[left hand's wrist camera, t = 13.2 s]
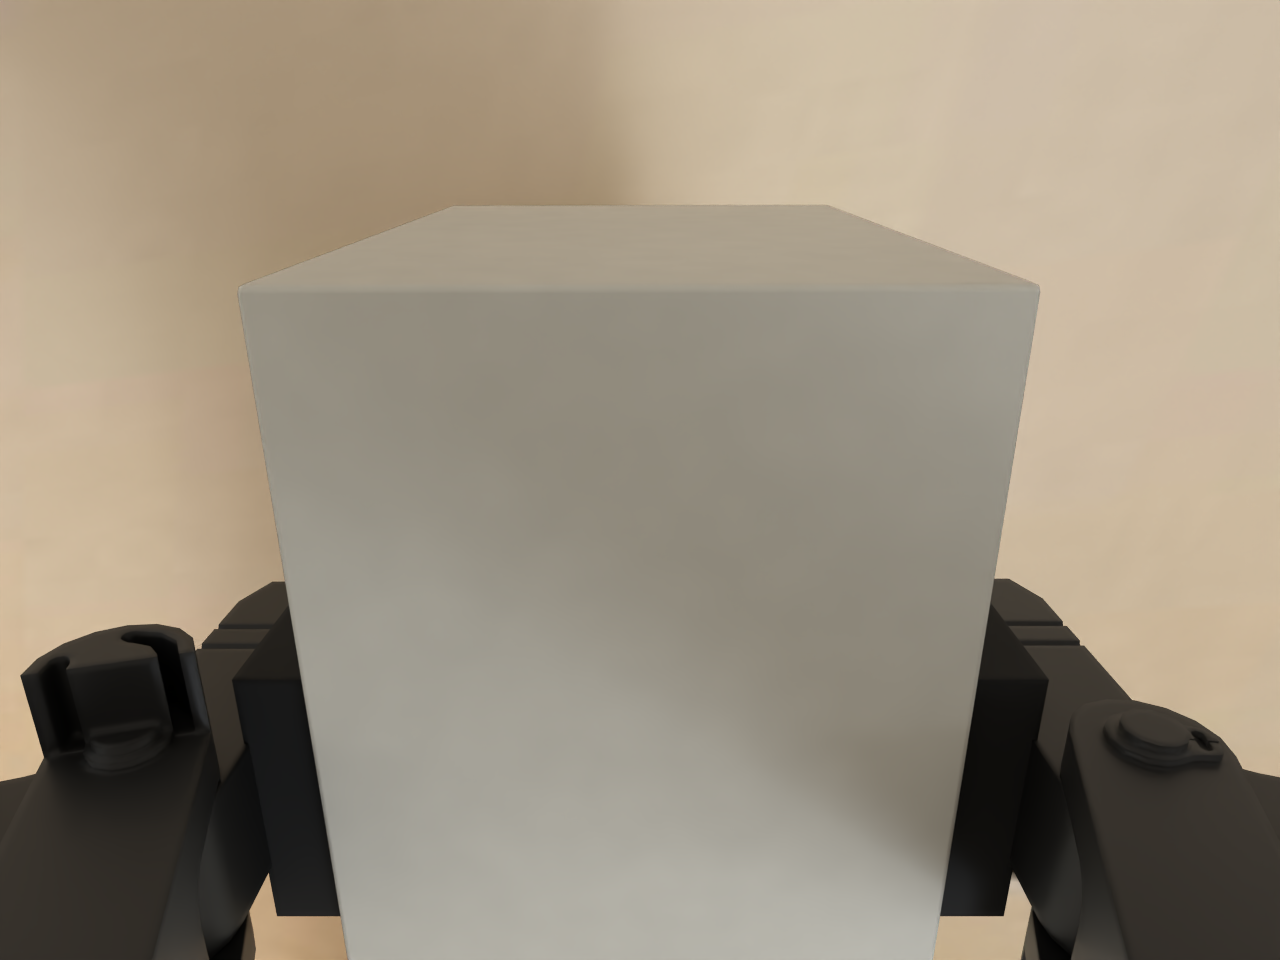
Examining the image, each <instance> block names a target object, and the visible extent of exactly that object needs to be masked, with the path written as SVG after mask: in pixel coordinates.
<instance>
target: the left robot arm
mask: <svg viewBox="0 0 1280 960" xmlns="http://www.w3.org/2000/svg"><path fill="white" fill-rule="evenodd" d="M21 680H22V683H23V686H24V690H25V693H26V697H27V700H28V704H29V707H30V710H31V714H32V717H33V721H34V724H35V728H36V731H37V735H38V738H39V741H40V745H41V748H42V752H43V755H44V759H43V761H42V763H41V765H40V767H39V769H38V771H37V773H36V774H33V775H30V776H26V777H21V778H16V779H11V780H6V781H1V782H0V960H254V959H255V951H256V947H255V940H254V933H253V927H252V922H251V917H250V913H249V910H250V908H251V906H252V904H253V902H254V900H255V898H256V896H257V894H258V892H259V890H260V888H261V886H262V884H263V882H264V881H265V879H266V877H267V875H268V873H269V876H270V882H271V887H272V892H273V897H274V902H275V908H276V913H277V916H340V910H339V904H338V898H337V892H336V886H335V880H334V874H333V868H332V862H331V856H330V849H329V843H328V837H327V831H326V825H325V819H324V813H323V807H322V801H321V795H320V789H319V783H318V777H317V771H316V765H315V759H314V753H313V747H312V741H311V735H310V729H309V723H308V717H307V710H306V704H305V698H304V692H303V686H302V680H301V674H300V668H299V662H298V656H297V650H296V644H295V638H294V632H293V626H292V620H291V614H290V608H289V602H288V596H287V590H286V584H285V582H271V583H270V584H268V585H266V586H264V587H263V588H261V589H259V590H258V591H256V592H254V593H253V594H251V595H249V596H247V597H246V598H244V599H242V600H241V601H239V602H238V603H237V604H236V605H235V607H234V608H233V609H232V610H231V611H230V612H229V613H228V615H227V616H226V617H225V618H224V619H223V620H222V621H221V623H220V624H219V628H218V629H214V631H213V632H212V633H211V634H210V635H209V636H208V637H207V639H206V640H205V641H204V642H203V643H202V649H197V650H196V651H195V646H194V641H193V638H192V637H191V636H190V635H188V634H187V633H185V632H184V631H183V630H181V629H180V628H175V627H170V626H164V625H159V624H148V625H127V626H122V627H117V628H113V629H108V630H103V631H98V632H94V633H91V634H89V635H86V636H83V637H81V638H78V639H75V640H72V641H70V642H67V643H64V644H62V645H61V646H59V647H57V648H55V649H54V650H52V651H50V652H48V653H47V654H45V655H43V656H41V657H40V658H38V659H37V660H36V661H35V662H34V663H33V664H32V665H31V666H30V667H29V668H28V669H27V670H26V671H25V672H24V673H23V674H22V675H21ZM1012 870H1014V872H1015V874H1016V876H1017V878H1018V880H1019V882H1020V884H1021V886H1022V888H1023V890H1024V892H1025V894H1026V896H1027V898H1028V900H1029V902H1030V904H1031V906H1032V908H1031V913H1030V917H1029V922H1028V927H1027V932H1026V937H1025V942H1024V946H1023V951H1022V956H1021V960H1280V777H1275V776H1270V775H1265V774H1260V773H1256V772H1252V771H1248V770H1244V769H1242V767H1241V765H1240V763H1239V761H1238V759H1237V757H1236V756H1235V755H1234V753H1233V752H1232V751H1231V750H1230V749H1229V747H1228V746H1227V745H1226V744H1225V743H1224V741H1223V740H1222V739H1221V738H1220V737H1219V736H1217V735H1216V734H1214V733H1213V732H1211V731H1210V730H1208V729H1207V728H1205V727H1204V726H1202V725H1201V724H1199V723H1198V722H1197V721H1195V720H1192V719H1190V718H1188V717H1185V716H1183V715H1181V714H1178V713H1176V712H1174V711H1171V710H1169V709H1167V708H1163V707H1159V706H1155V705H1151V704H1147V703H1143V702H1139V701H1134V700H1131V698H1130V697H1129V696H1128V695H1127V694H1126V693H1125V692H1124V690H1123V689H1122V688H1121V687H1120V686H1119V685H1118V684H1117V682H1116V681H1115V680H1114V679H1113V678H1112V677H1111V676H1110V675H1109V673H1108V672H1107V671H1106V670H1105V669H1104V668H1103V667H1102V665H1101V664H1100V663H1099V662H1098V661H1097V660H1096V659H1095V658H1094V656H1093V655H1092V654H1091V653H1090V652H1089V651H1088V650H1087V648H1086V647H1085V646H1080V640H1079V639H1078V638H1077V637H1076V636H1075V635H1074V634H1073V633H1072V631H1071V630H1070V629H1069V628H1068V627H1067V626H1063V621H1062V620H1061V619H1060V618H1059V617H1058V616H1057V614H1056V613H1055V612H1054V611H1053V610H1052V609H1051V608H1050V606H1049V605H1048V604H1047V603H1046V602H1045V601H1044V600H1043V599H1042V598H1041V597H1039V596H1037V595H1036V594H1034V593H1032V592H1030V591H1029V590H1027V589H1025V588H1024V587H1022V586H1020V585H1019V584H1017V583H1015V582H1013V581H1012V580H1010V579H994V582H993V589H992V595H991V601H990V607H989V614H988V620H987V626H986V632H985V638H984V645H983V651H982V657H981V663H980V670H979V676H978V682H977V688H976V694H975V701H974V707H973V713H972V719H971V726H970V732H969V738H968V744H967V751H966V757H965V763H964V769H963V775H962V782H961V788H960V794H959V800H958V807H957V813H956V819H955V825H954V831H953V838H952V844H951V850H950V856H949V863H948V869H947V875H946V881H945V887H944V894H943V900H942V906H941V912H940V916H1004V911H1005V906H1006V901H1007V896H1008V891H1009V885H1010V880H1011V875H1012Z"/></svg>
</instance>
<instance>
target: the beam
mask: <svg viewBox="0 0 1280 960" xmlns="http://www.w3.org/2000/svg"><path fill="white" fill-rule="evenodd" d="M1039 296H1040V288H1039V285H1037V284H1035V283H1033V282H1030V281H1028V280H1025V279H1022V278H1020V277H1017V276H1014V275H1012V274H1009V273H1006V272H1004V271H1001V270H998V269H996V268H993V267H990V266H988V265H985V264H982V263H980V262H977V261H974V260H972V259H969V258H966V257H964V256H961V255H958V254H956V253H953V252H951V251H948V250H945V249H943V248H940V247H937V246H935V245H932V244H929V243H927V242H924V241H921V240H919V239H916V238H913V237H911V236H908V235H905V234H903V233H900V232H897V231H895V230H892V229H889V228H887V227H884V226H881V225H879V224H876V223H873V222H871V221H868V220H866V219H863V218H860V217H858V216H855V215H852V214H850V213H847V212H844V211H842V210H839V209H836V208H834V207H831V206H828V205H571V206H451V207H449V208H446V209H443V210H441V211H438V212H435V213H433V214H430V215H427V216H425V217H422V218H419V219H417V220H414V221H411V222H409V223H406V224H403V225H400V226H398V227H395V228H392V229H390V230H387V231H384V232H382V233H379V234H376V235H374V236H371V237H368V238H366V239H363V240H360V241H358V242H355V243H352V244H350V245H347V246H344V247H342V248H339V249H336V250H334V251H331V252H328V253H326V254H323V255H320V256H318V257H315V258H312V259H310V260H307V261H304V262H302V263H299V264H296V265H294V266H291V267H288V268H286V269H283V270H280V271H278V272H275V273H272V274H270V275H267V276H264V277H262V278H259V279H256V280H254V281H251V282H248V283H246V284H243V285H241V286H239V288H238V300H239V306H240V312H241V318H242V324H243V330H244V336H245V342H246V348H247V354H248V360H249V366H250V372H251V378H252V384H253V390H254V396H255V402H256V408H257V414H258V420H259V427H260V433H261V439H262V445H263V451H264V457H265V463H266V469H267V475H268V481H269V487H270V493H271V499H272V505H273V511H274V517H275V523H276V529H277V535H278V541H279V547H280V553H281V559H282V565H283V572H284V578H285V584H286V590H287V596H288V602H289V608H290V614H291V620H292V626H293V632H294V638H295V644H296V650H297V656H298V662H299V668H300V674H301V680H302V686H303V692H304V698H305V704H306V710H307V717H308V723H309V729H310V735H311V741H312V747H313V753H314V759H315V765H316V771H317V777H318V783H319V789H320V795H321V801H322V807H323V813H324V819H325V825H326V831H327V837H328V843H329V849H330V856H331V862H332V868H333V874H334V880H335V886H336V892H337V898H338V904H339V910H340V916H341V922H342V928H343V934H344V940H345V946H346V952H347V958H348V960H933V956H934V950H935V944H936V937H937V931H938V925H939V919H940V912H941V906H942V900H943V894H944V887H945V881H946V875H947V869H948V863H949V856H950V850H951V844H952V838H953V831H954V825H955V819H956V813H957V807H958V800H959V794H960V788H961V782H962V775H963V769H964V763H965V757H966V751H967V744H968V738H969V732H970V726H971V719H972V713H973V707H974V701H975V694H976V688H977V682H978V676H979V670H980V663H981V657H982V651H983V645H984V638H985V632H986V626H987V620H988V614H989V607H990V601H991V595H992V589H993V582H994V576H995V570H996V564H997V558H998V551H999V545H1000V539H1001V533H1002V526H1003V520H1004V514H1005V508H1006V502H1007V495H1008V489H1009V483H1010V477H1011V470H1012V464H1013V458H1014V452H1015V445H1016V439H1017V433H1018V427H1019V421H1020V414H1021V408H1022V402H1023V396H1024V389H1025V383H1026V377H1027V371H1028V365H1029V358H1030V352H1031V346H1032V340H1033V333H1034V327H1035V321H1036V315H1037V309H1038V302H1039Z"/></svg>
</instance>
